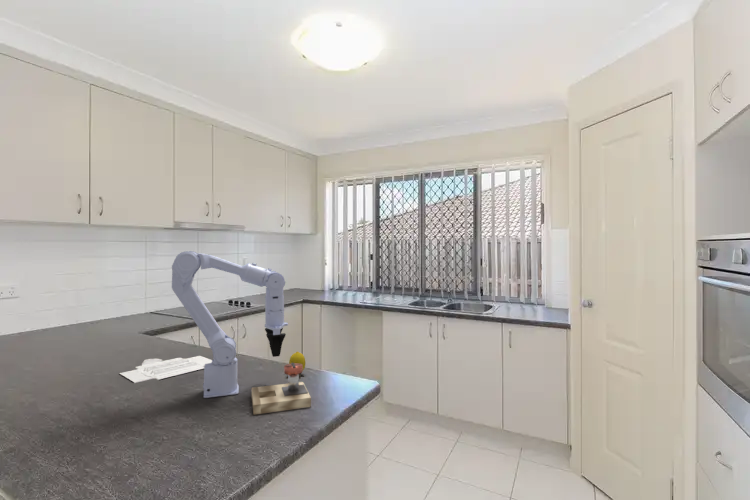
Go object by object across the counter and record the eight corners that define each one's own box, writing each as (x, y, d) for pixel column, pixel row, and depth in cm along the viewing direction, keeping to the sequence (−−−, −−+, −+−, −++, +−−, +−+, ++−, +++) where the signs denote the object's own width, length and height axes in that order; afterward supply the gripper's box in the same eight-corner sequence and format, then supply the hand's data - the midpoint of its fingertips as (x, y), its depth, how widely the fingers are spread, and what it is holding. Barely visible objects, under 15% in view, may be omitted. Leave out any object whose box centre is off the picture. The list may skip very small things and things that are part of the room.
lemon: (301, 378, 124) (301, 354, 124) (286, 376, 126) (286, 353, 126) (307, 372, 130) (308, 350, 130) (293, 371, 131) (293, 349, 131)
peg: (303, 391, 105) (303, 366, 105) (285, 393, 103) (285, 368, 103) (301, 385, 110) (301, 361, 110) (283, 387, 108) (283, 363, 108)
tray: (222, 366, 138) (222, 356, 138) (138, 391, 116) (138, 379, 116) (195, 356, 151) (195, 347, 151) (115, 377, 129) (114, 366, 129)
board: (253, 414, 96) (253, 403, 96) (251, 396, 109) (251, 386, 109) (310, 406, 102) (311, 396, 102) (302, 389, 114) (302, 380, 114)
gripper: (290, 312, 112) (290, 357, 112) (285, 305, 125) (285, 346, 125) (265, 314, 109) (266, 360, 109) (263, 307, 123) (263, 348, 123)
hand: (275, 352), depth 117 cm, fingers open, 7 cm apart
